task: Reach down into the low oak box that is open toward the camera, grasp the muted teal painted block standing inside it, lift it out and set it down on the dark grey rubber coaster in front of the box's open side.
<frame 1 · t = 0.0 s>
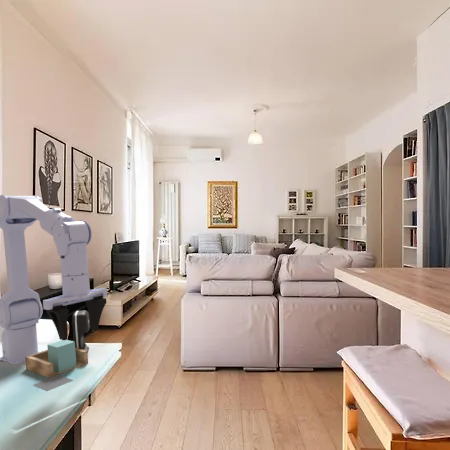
hand: (79, 334, 85), 10 cm above the table, tool pointing down, fingers open, 7 cm apart
block: (62, 367, 92), resting on crate
coaster: (53, 384, 83), on the table
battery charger: (83, 353, 103), on the table
crate: (57, 367, 94), on the table
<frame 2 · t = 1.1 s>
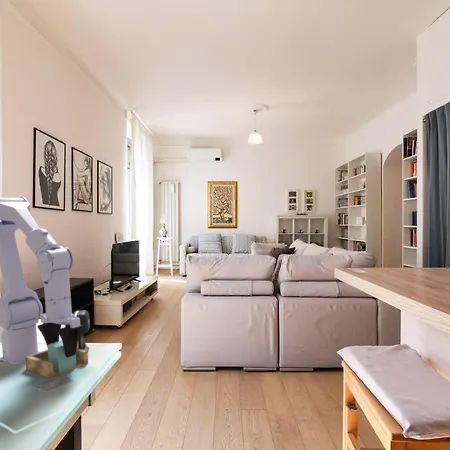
hand: (62, 353, 92), 4 cm above the table, tool pointing down, fingers open, 7 cm apart
nothing on the table moved.
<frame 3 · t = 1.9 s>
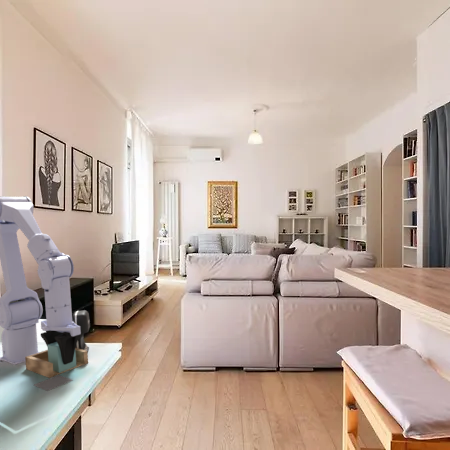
hand: (62, 361, 92), 2 cm above the table, tool pointing down, fingers closed on block, 4 cm apart
block: (62, 367, 92), resting on crate, touching gripper
everything else where it was.
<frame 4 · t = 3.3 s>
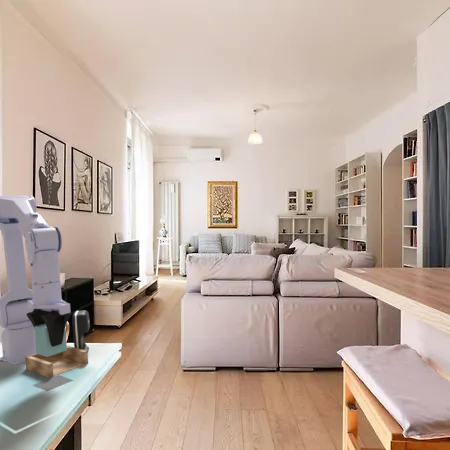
hand: (50, 343, 83), 9 cm above the table, tool pointing down, fingers closed on block, 4 cm apart
block: (51, 351, 84), point 7 cm above the table, touching gripper
everything else where it was.
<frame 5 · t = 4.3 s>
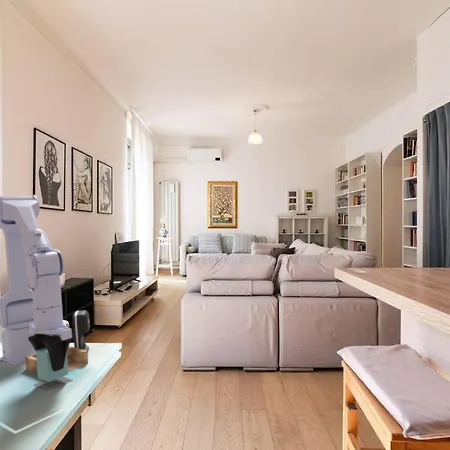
hand: (52, 367, 83), 4 cm above the table, tool pointing down, fingers closed on block, 4 cm apart
block: (53, 376, 84), point 2 cm above the table, touching gripper
everything else where it was.
when the fingers open (4 cm above the table, at t = 4.8 s): block drops 1 cm, resting on coaster.
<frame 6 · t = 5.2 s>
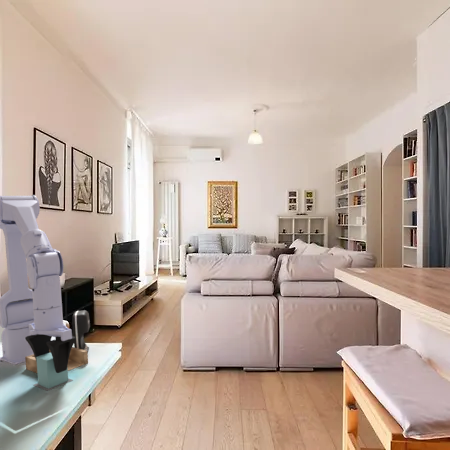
hand: (52, 368, 83), 4 cm above the table, tool pointing down, fingers open, 7 cm apart
block: (53, 382, 84), resting on coaster
everything else where it was.
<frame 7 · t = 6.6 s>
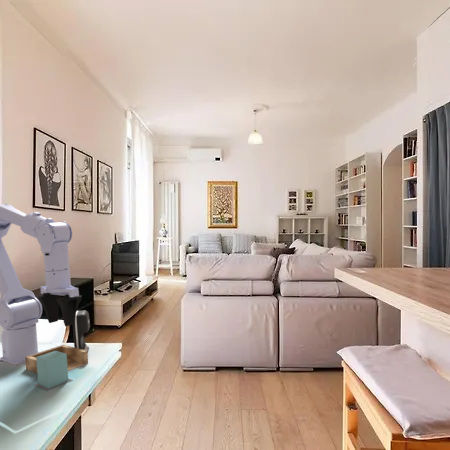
hand: (61, 323, 95), 10 cm above the table, tool pointing down, fingers open, 7 cm apart
nothing on the table moved.
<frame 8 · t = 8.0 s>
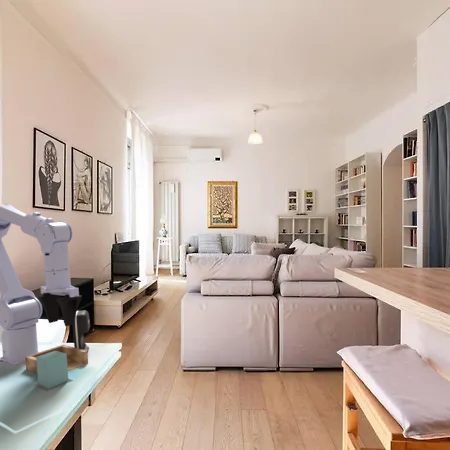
hand: (61, 323, 95), 10 cm above the table, tool pointing down, fingers open, 7 cm apart
nothing on the table moved.
at the end: block inside the target area on the coaster (0.1 cm from its centre), point 0.4 cm above the coaster's base; block tilted 0°; the gripper is holding nothing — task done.
